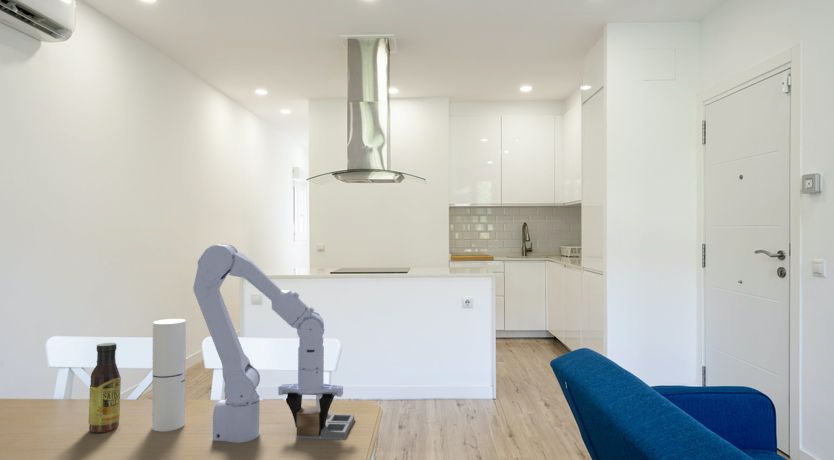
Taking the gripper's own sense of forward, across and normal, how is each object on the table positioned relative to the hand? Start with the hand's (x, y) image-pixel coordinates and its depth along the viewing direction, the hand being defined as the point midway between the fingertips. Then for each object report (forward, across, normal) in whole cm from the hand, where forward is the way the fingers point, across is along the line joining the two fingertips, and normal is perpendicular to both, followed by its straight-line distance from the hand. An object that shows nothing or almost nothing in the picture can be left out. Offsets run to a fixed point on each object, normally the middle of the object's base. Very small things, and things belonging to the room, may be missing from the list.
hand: (310, 426), depth 119 cm
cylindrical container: (+2, +36, -4) cm, 36 cm away
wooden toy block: (+1, 0, 0) cm, 1 cm away
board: (+2, -3, -2) cm, 4 cm away
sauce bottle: (+2, +50, 0) cm, 50 cm away
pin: (+2, +1, -14) cm, 14 cm away
